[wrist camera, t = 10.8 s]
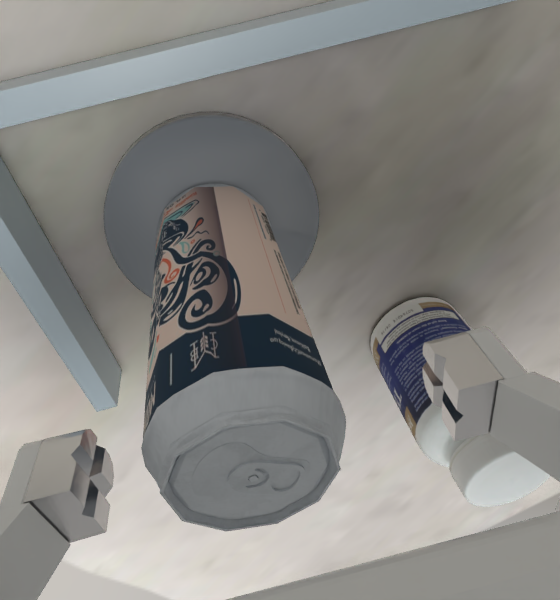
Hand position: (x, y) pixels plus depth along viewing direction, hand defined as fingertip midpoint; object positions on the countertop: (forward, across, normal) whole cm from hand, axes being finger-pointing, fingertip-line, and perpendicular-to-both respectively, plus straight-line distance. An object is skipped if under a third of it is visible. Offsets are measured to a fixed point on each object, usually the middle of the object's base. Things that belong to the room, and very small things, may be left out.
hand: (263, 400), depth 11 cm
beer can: (+10, +1, +1) cm, 11 cm away
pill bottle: (+12, -8, +10) cm, 18 cm away
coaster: (+11, +1, 0) cm, 11 cm away
